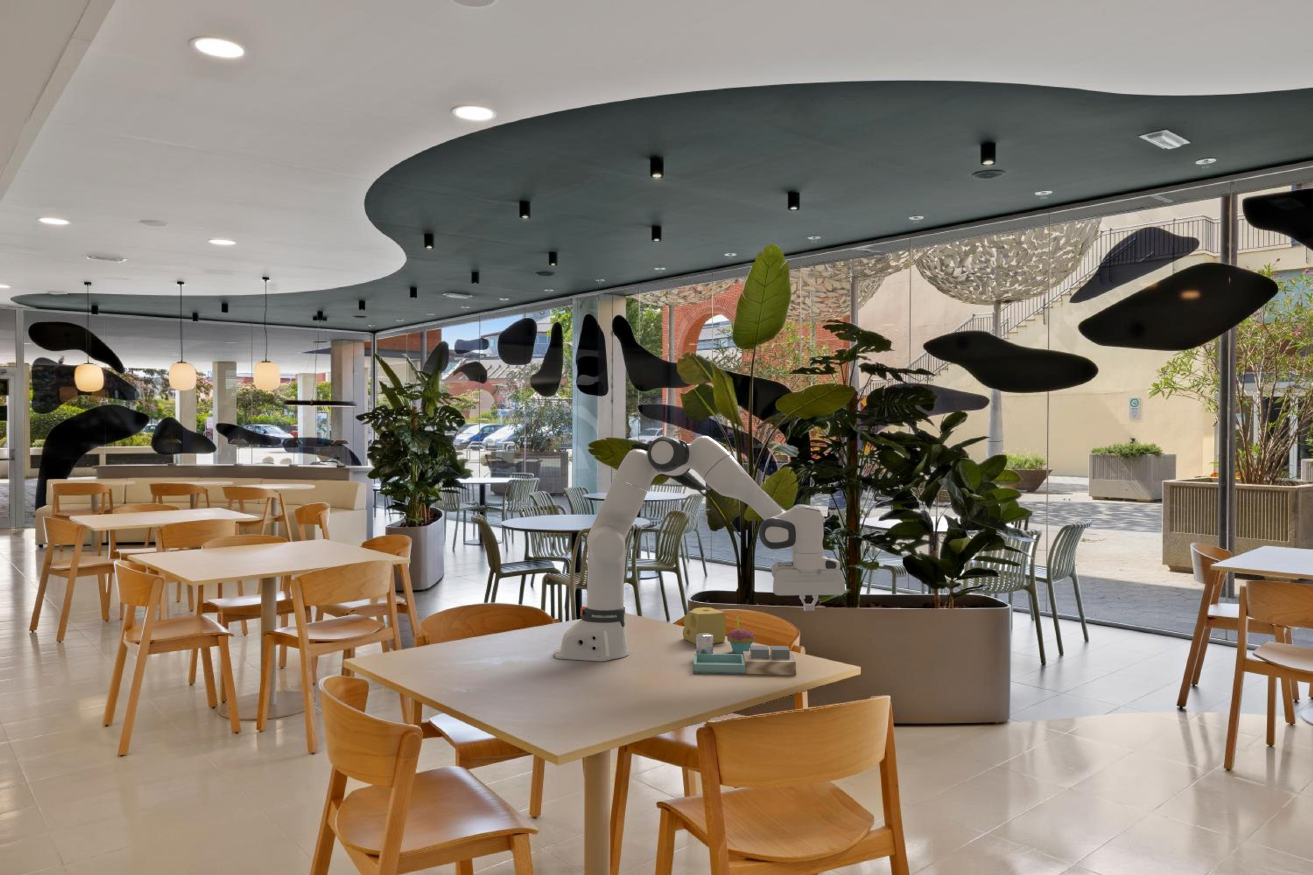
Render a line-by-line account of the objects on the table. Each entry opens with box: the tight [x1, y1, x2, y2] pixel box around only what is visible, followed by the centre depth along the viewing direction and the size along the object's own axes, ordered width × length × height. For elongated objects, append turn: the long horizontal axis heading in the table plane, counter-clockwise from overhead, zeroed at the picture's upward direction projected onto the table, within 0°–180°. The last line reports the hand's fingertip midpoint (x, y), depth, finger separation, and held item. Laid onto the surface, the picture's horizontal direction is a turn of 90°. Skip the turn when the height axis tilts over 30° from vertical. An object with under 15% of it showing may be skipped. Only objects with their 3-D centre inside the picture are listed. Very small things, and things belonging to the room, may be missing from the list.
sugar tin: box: [695, 633, 714, 654], centre depth 269 cm, size 5×5×7 cm
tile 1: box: [749, 644, 770, 659], centre depth 257 cm, size 5×5×2 cm
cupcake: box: [726, 614, 756, 654], centre depth 278 cm, size 9×8×12 cm
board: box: [743, 650, 797, 676], centre depth 257 cm, size 14×12×4 cm
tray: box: [693, 653, 746, 675], centre depth 258 cm, size 14×12×2 cm
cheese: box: [682, 606, 727, 645], centre depth 293 cm, size 10×11×10 cm
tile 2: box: [769, 645, 791, 659], centre depth 257 cm, size 5×5×2 cm
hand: (809, 610), depth 257 cm, fingers closed
